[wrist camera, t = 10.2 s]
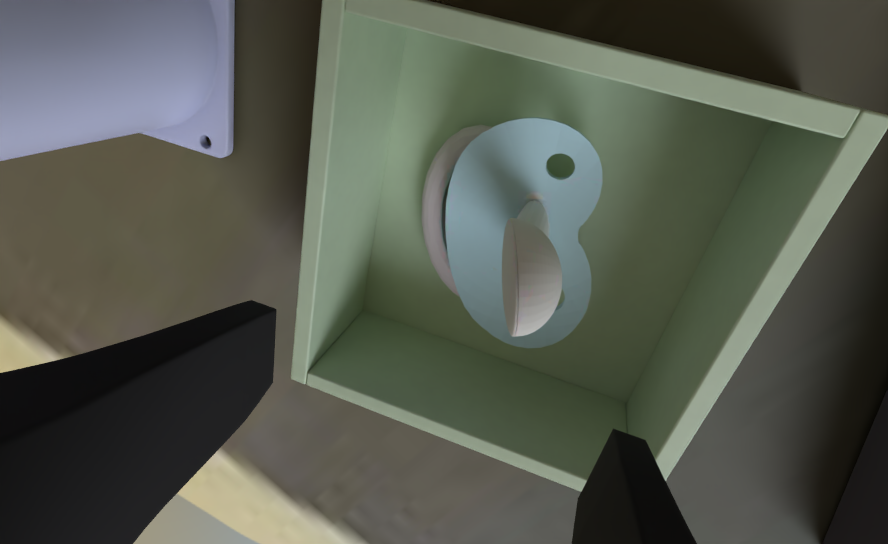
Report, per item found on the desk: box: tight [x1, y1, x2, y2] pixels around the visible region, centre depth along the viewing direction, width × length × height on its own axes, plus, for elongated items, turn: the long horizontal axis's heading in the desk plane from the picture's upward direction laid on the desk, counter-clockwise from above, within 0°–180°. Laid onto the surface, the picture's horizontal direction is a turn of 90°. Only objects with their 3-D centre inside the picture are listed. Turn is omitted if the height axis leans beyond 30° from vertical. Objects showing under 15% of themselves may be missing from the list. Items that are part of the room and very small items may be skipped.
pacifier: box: [421, 117, 603, 348], centre depth 15 cm, size 7×6×6 cm
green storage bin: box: [291, 0, 888, 492], centre depth 16 cm, size 12×12×5 cm
